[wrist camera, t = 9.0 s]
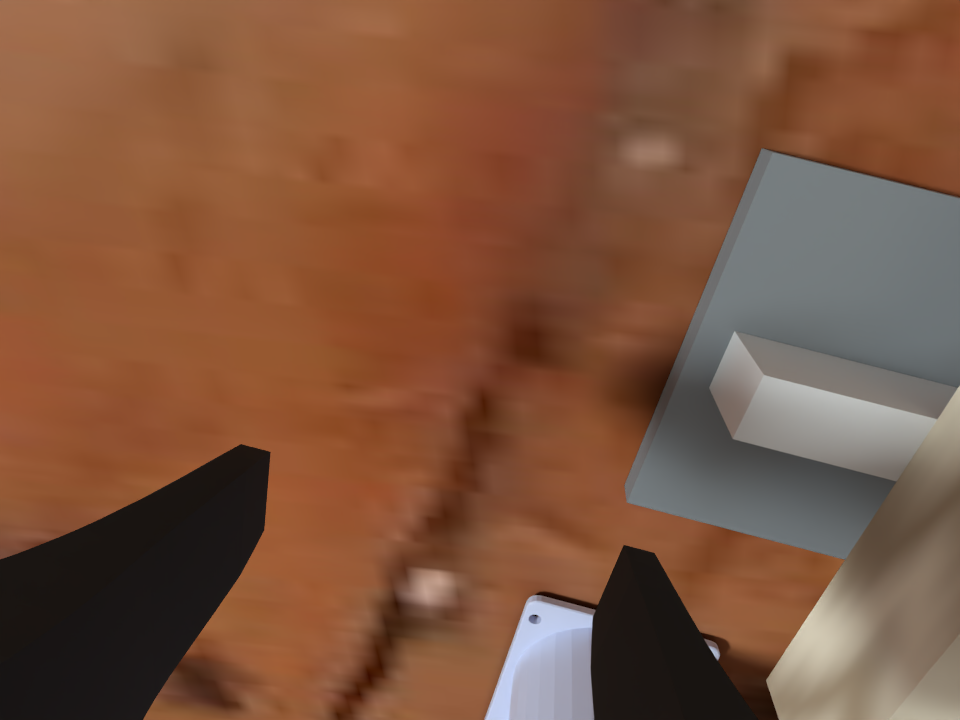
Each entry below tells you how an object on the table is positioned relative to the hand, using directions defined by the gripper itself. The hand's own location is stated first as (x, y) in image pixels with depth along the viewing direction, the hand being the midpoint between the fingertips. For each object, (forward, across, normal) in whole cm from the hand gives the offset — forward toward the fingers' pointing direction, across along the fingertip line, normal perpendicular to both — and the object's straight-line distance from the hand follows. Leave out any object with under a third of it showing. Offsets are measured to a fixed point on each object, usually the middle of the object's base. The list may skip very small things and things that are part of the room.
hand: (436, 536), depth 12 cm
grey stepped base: (+9, -13, -2) cm, 16 cm away
